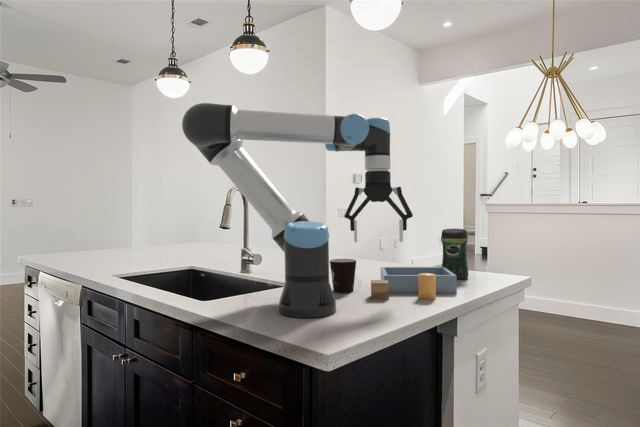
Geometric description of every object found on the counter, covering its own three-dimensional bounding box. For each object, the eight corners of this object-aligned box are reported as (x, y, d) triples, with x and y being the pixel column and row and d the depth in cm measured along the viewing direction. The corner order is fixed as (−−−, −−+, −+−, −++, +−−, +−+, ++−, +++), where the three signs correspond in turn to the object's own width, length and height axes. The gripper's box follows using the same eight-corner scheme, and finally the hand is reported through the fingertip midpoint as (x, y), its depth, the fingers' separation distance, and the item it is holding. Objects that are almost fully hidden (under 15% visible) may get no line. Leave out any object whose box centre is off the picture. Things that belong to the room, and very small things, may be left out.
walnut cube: (388, 299, 127) (388, 282, 127) (371, 299, 127) (371, 282, 127) (387, 296, 132) (387, 279, 132) (371, 296, 132) (370, 279, 132)
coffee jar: (469, 277, 163) (469, 228, 163) (466, 280, 156) (466, 229, 156) (443, 275, 168) (443, 227, 167) (439, 278, 160) (439, 228, 160)
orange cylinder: (437, 299, 126) (437, 276, 125) (419, 299, 126) (419, 275, 126) (434, 296, 131) (434, 273, 130) (417, 296, 131) (417, 273, 131)
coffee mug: (354, 294, 135) (354, 262, 134) (327, 293, 136) (327, 261, 136) (359, 287, 146) (358, 257, 146) (334, 286, 148) (333, 257, 148)
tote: (456, 293, 134) (456, 275, 134) (384, 292, 136) (384, 275, 136) (444, 282, 153) (444, 267, 152) (380, 282, 154) (380, 267, 154)
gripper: (417, 171, 132) (418, 240, 132) (336, 172, 133) (337, 240, 134) (422, 169, 124) (422, 242, 125) (335, 170, 126) (336, 243, 126)
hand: (378, 241), depth 129 cm, fingers open, 13 cm apart
